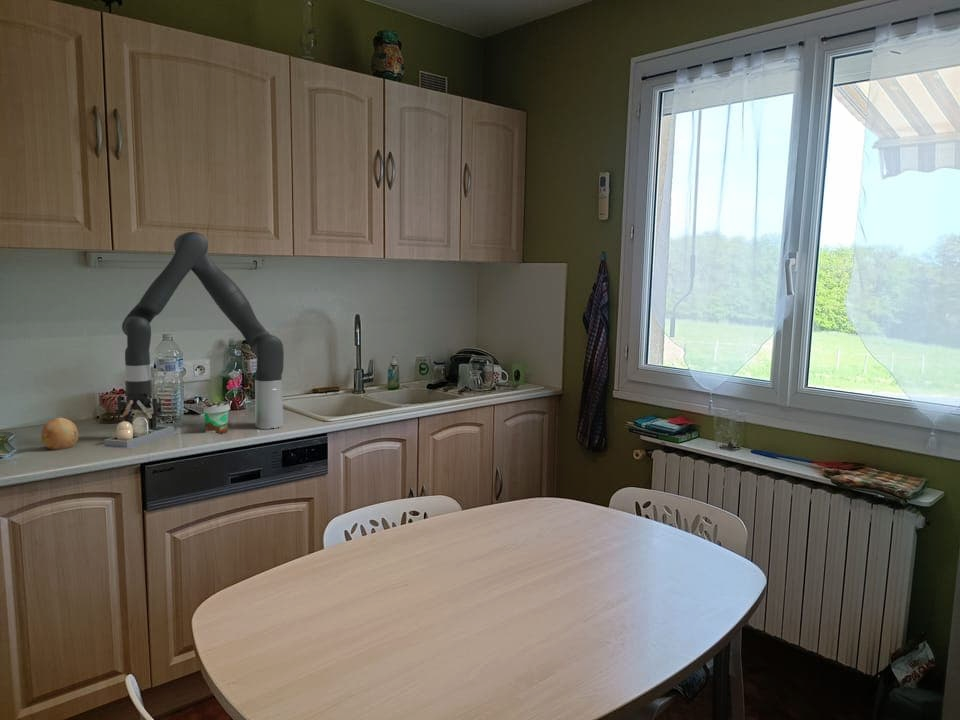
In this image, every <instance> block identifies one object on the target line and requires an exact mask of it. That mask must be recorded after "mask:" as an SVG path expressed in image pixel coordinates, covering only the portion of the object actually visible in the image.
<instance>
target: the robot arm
mask: <svg viewBox="0 0 960 720" xmlns="http://www.w3.org/2000/svg"><path fill="white" fill-rule="evenodd" d="M173 243H174V244H173V247H174V254H173V256H172V258H171V259H170V261H169V262H168V264H167V265H166V267H165V268H164V269H163V270H162V271H161V273H160V274H159V275H158V276H157V277H156V278H155V279H154V281H152V283H151V285H150V286H149V287H148V288H147V289H146V291H145V292H144V294H143V295H142V297H141V299H140V300H139V302H138V303H137V304H136V305H135V306H134V307H133V308H132V309H131V310H130V311H129V313H128V314H127V315H126V316H125V317H124V320H123V321H122V324H121V330H122V333H124V335H125V336H126V341H127V342H126V345H127V346H126V348H125V351H124V362H125V368H124V381H125V382H124V385H125V394H121V395H118V396H117V414H118V415H122V416H123V421H126V422H129V423H131V425H132V424H133V418H132V417H133V416H132V413H133V412H134V411H136V410H138V411H141V412H142V411H143V413H145V414H146V416H147V417H148V420H147V421H148V426H149V429H150V430H152V429H155V427H156V425H157V417H159V416H162V415H163V413H162V402H161V400H162V399H161V397H160V396H156V397H152V392H153V385H152V384H153V383H152V381H153V380H152V379H153V378H152V368H151V356H150V355H151V354H150V346H151V338H152V327H151V322H152V321H153V320H154V319H155V317H157V316H159V315H160V314H161V312H163V310H164V308H165V307H166V306H167V304H168V302H169V301H170V299H171V298H172V296H173V295H174V294H175V291H176V290H177V289H178V288H179V285H180V284H181V283H182V281H183V280H184V278H185V277H187V275H188V274H189V272H190V271H192V272H193V274H194V275H195V276H196V277H197V278H198V280H199V281H200V283H201V284H202V286H203V288H204V289H205V290H206V291H207V293H208V294H209V296H210V297H211V299H212V300H213V301H214V303H215V304H216V305H217V306H218V308H219V309H220V311H221V312H222V313H223V314H224V315H225V316H226V317H227V319H228V320H229V321H230V322H231V323H232V324H233V325H234V326H235V327H236V329H238V331H239V332H240V333H241V335H242V336H243V338H244V339H245V342H246V343H247V344H248V347H250V349H251V351H252V353H253V354H254V355H255V357H256V370H255V372H254V393H255V394H254V397H255V398H254V399H255V400H254V401H255V402H254V406H255V409H254V410H255V413H254V415H255V428H256V427H257V428H256V429H259V428H260V429H261V430H270V429H271V428H274V429H279V428H282V427H283V425H284V405H283V404H284V400H283V380H282V379H283V372H284V360H285V359H284V353H285V352H284V350H285V349H284V345H283V342H282V340H281V339H280V338H279V337H278V336H275V335H272V334H270V333H269V332H268V330H267V329H266V328H265V327H264V326H263V325H262V324H261V323H260V321H259V320H258V318H257V316H256V315H255V312H254V310H253V308H252V305H251V304H250V302H249V300H248V298H247V297H246V295H245V294H244V293H243V291H242V290H241V288H240V287H239V286H238V284H236V282H235V281H233V280H232V278H230V276H228V275H227V274H226V273H225V272H224V271H223V270H221V269H220V268H219V266H217V265H216V264H215V262H214V261H213V260H212V258H211V257H210V255H209V254H208V251H209V242H208V240H207V238H206V237H205V236H204V234H201V233H200V232H197V231H188V232H184V233H181V234H179V235H178V236H177V237H176V238H175V239H174V242H173ZM132 426H133V425H132ZM281 426H282V427H281ZM278 427H279V428H278ZM271 430H272V429H271Z"/></svg>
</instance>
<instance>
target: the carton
mask: <svg viewBox="0 0 960 720" xmlns="http://www.w3.org/2000/svg"><path fill="white" fill-rule="evenodd" d="M181 432H182V431H181V430H180V431H178V430H175V426H172V425H171V426H170V425H157V424H156V427H155V429H152V430H150V429H149V425H148V434H146V435H143V436H141V435H133V439H130V440H127V441H124V440H117V435H116V436H112V437H109V438H106V439H104V443H102V444H99V445H97V447H103V448H113V449H114V448H117V449H127V450H131V449H134V448H138V447H141V446H143V445H146V444H149V443H152V442H154V441H159V440H160V439H164V438H166V437H170V436H172V435H175V434H178V433H181Z"/></svg>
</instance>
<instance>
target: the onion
mask: <svg viewBox="0 0 960 720" xmlns="http://www.w3.org/2000/svg"><path fill="white" fill-rule="evenodd" d="M40 436H41V440H42V441H41V442H42V444H43V446H44V447H46V448H48V449H49V450H53V451H54V450H55V451H56V450H57V451H58V450H65V449H70V448H72V447H73V446H75V444H76V443H77V442H78V440H79V429H78V427H77V425H76V424H75V423H74V422H73V421H72V420H70V419H67V418H65V417H55V418H53V419H51V420H49V421H48V422H47V423H46V424H45V425H44V426H43V428H42V430H41V435H40Z"/></svg>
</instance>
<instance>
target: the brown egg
mask: <svg viewBox="0 0 960 720" xmlns="http://www.w3.org/2000/svg"><path fill="white" fill-rule="evenodd" d="M116 436H117V440H124V441H127V440H130V439H133V425H131V423H129V422H126V421H124V420H123V421H121V422H119V423H118V424H117V426H116Z"/></svg>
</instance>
